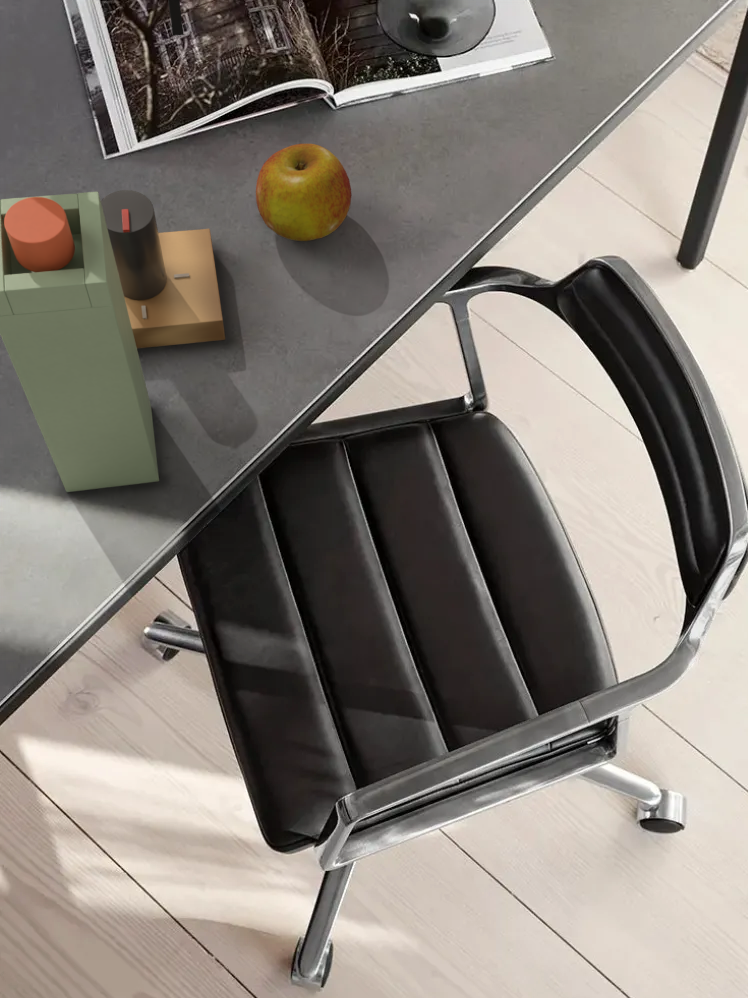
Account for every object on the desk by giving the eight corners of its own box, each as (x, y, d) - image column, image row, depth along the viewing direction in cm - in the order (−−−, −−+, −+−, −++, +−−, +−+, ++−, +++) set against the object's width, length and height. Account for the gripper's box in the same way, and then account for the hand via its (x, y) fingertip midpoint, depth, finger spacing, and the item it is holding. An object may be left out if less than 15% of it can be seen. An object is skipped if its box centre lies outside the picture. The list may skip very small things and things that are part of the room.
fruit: (306, 172, 116) (305, 110, 109) (369, 222, 114) (373, 162, 107) (238, 221, 113) (232, 161, 106) (302, 273, 111) (301, 216, 104)
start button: (16, 276, 76) (4, 245, 73) (13, 230, 78) (2, 198, 75) (77, 270, 77) (68, 240, 74) (73, 225, 78) (64, 194, 76)
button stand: (66, 492, 99) (-18, 293, 74) (61, 415, 102) (-22, 200, 77) (159, 481, 100) (106, 282, 75) (151, 406, 103) (98, 191, 79)
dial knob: (113, 261, 106) (95, 188, 97) (165, 257, 106) (151, 185, 98) (115, 302, 104) (97, 232, 95) (168, 298, 104) (154, 228, 96)
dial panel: (73, 355, 105) (66, 334, 102) (66, 262, 109) (59, 239, 106) (225, 340, 107) (222, 319, 104) (212, 249, 111) (209, 226, 108)
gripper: (-247, -271, 57) (-107, 74, 76) (246, -273, 61) (262, 54, 80) (-241, -355, 60) (-107, -2, 79) (230, -351, 64) (248, -18, 83)
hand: (79, 27), depth 80 cm, fingers open, 13 cm apart
